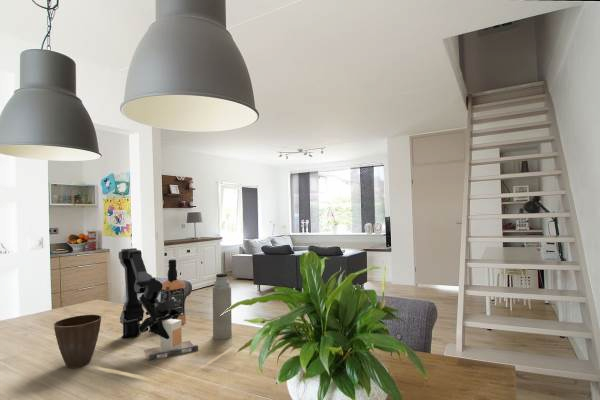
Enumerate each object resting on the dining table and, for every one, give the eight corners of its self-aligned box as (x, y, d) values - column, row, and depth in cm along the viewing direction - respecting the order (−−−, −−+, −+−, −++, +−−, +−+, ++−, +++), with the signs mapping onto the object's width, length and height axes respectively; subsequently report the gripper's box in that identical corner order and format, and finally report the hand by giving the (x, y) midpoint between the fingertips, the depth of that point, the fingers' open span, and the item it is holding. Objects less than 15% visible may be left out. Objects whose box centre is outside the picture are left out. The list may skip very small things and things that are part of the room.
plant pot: (50, 376, 121) (50, 329, 122) (56, 361, 134) (57, 318, 135) (100, 367, 128) (100, 322, 129) (101, 353, 141) (101, 312, 142)
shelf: (149, 363, 130) (149, 356, 130) (143, 352, 141) (143, 345, 141) (198, 352, 140) (198, 345, 140) (189, 343, 151) (189, 336, 151)
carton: (172, 354, 136) (172, 324, 136) (160, 352, 138) (160, 322, 139) (182, 349, 141) (182, 320, 141) (170, 347, 143) (170, 318, 144)
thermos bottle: (220, 334, 161) (220, 272, 162) (235, 336, 158) (234, 273, 159) (209, 340, 154) (208, 275, 155) (224, 342, 150) (223, 276, 151)
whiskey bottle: (177, 319, 186) (177, 257, 187) (186, 323, 179) (186, 259, 180) (158, 324, 179) (157, 260, 180) (167, 328, 172) (166, 261, 173)
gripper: (144, 297, 133) (167, 330, 129) (179, 287, 151) (200, 316, 146) (129, 316, 136) (151, 349, 131) (165, 304, 153) (185, 333, 149)
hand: (173, 336), depth 139 cm, fingers closed on carton, 5 cm apart
